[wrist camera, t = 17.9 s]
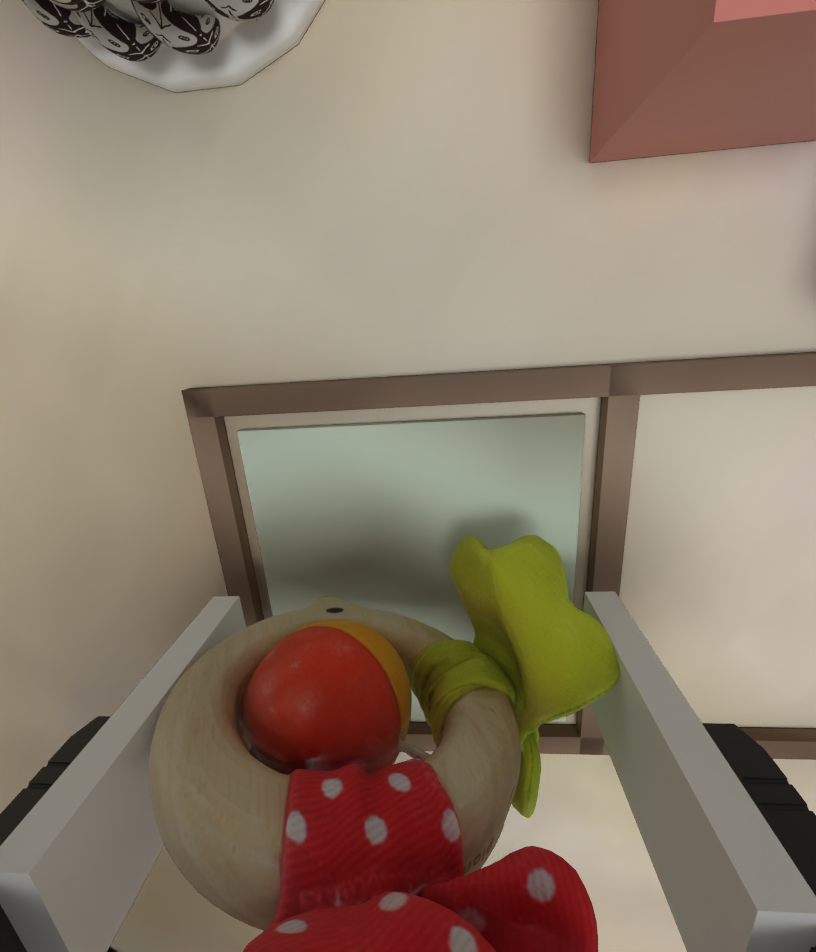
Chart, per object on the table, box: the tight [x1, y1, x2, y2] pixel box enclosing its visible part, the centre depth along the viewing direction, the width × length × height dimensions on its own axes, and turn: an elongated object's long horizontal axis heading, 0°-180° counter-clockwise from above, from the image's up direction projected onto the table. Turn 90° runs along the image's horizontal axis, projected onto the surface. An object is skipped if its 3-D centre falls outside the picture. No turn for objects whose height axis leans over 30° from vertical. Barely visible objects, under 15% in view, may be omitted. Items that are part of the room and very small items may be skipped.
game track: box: [182, 352, 816, 760], centre depth 13 cm, size 14×36×1 cm, turn 94°
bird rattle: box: [148, 535, 620, 952], centre depth 9 cm, size 6×11×9 cm
